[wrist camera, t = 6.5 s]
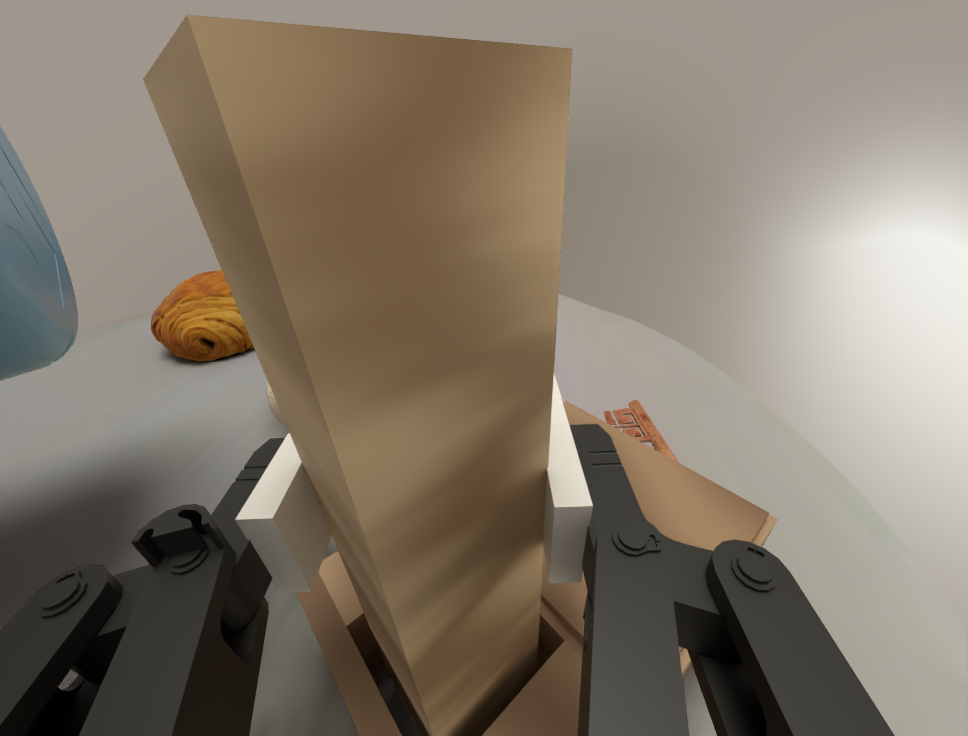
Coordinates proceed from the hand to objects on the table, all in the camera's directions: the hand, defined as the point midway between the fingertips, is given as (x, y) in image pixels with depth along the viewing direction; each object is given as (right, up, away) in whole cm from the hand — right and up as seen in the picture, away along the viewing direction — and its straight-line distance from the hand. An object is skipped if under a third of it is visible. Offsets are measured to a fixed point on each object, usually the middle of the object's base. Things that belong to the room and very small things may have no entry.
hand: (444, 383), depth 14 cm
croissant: (-27, +5, +32) cm, 42 cm away
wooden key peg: (+1, -12, +2) cm, 13 cm away
